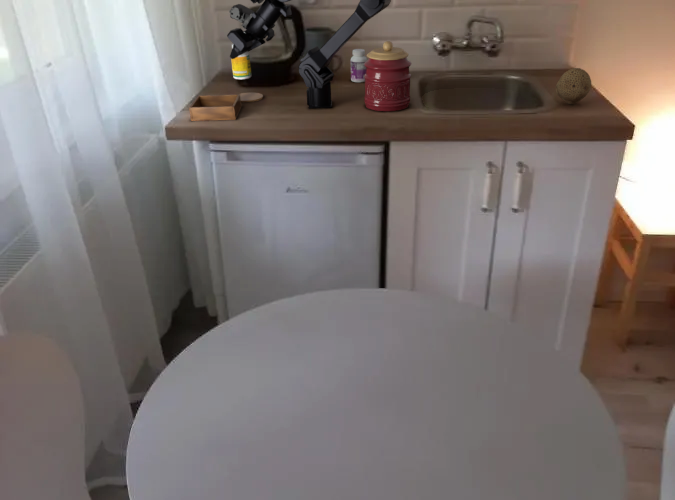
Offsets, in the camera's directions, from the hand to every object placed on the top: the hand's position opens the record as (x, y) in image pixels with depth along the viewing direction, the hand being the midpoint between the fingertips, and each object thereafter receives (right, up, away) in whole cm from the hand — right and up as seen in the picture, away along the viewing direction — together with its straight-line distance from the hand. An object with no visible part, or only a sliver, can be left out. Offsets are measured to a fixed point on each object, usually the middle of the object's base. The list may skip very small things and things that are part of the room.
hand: (235, 55), depth 181 cm
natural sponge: (+94, -16, -8) cm, 96 cm away
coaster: (+3, -11, +7) cm, 13 cm away
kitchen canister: (+44, -15, -4) cm, 46 cm away
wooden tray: (-4, -18, -6) cm, 20 cm away
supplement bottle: (+2, -6, +3) cm, 7 cm away
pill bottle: (+36, -2, +22) cm, 42 cm away
